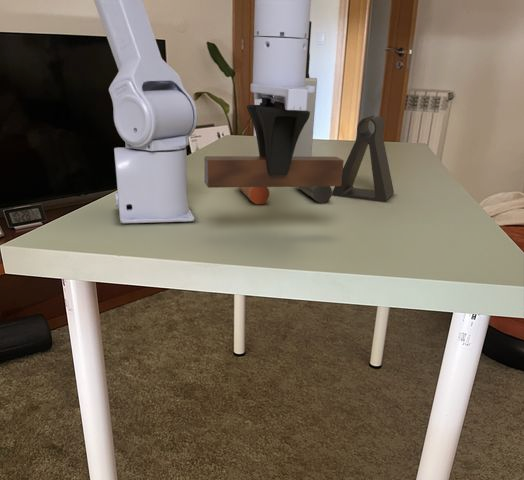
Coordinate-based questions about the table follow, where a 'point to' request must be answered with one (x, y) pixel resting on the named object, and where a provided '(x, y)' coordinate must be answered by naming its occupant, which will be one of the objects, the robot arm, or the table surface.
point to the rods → (317, 193)
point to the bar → (256, 175)
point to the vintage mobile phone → (306, 134)
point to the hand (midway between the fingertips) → (274, 172)
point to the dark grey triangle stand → (378, 162)
